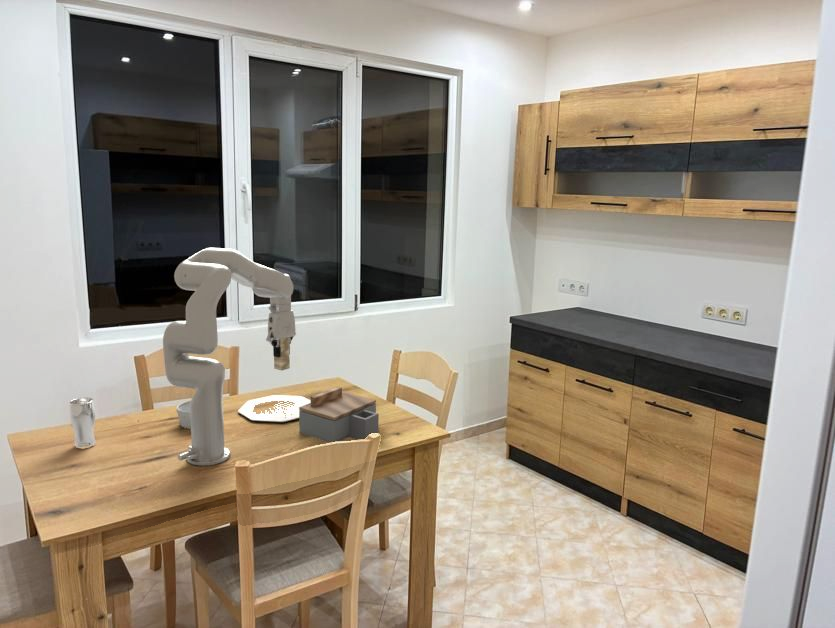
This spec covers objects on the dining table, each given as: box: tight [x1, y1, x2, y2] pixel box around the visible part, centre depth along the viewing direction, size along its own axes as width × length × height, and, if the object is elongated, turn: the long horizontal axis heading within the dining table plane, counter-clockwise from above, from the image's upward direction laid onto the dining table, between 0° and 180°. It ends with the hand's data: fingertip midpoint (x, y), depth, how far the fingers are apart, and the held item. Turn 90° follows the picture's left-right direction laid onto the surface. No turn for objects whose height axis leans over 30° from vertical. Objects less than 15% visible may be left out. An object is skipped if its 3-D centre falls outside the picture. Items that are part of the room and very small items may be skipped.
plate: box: [237, 394, 311, 423], centre depth 229 cm, size 28×28×2 cm
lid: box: [299, 386, 377, 421], centre depth 211 cm, size 22×16×4 cm
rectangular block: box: [273, 337, 291, 371], centre depth 227 cm, size 4×4×14 cm
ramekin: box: [176, 399, 191, 430], centre depth 213 cm, size 13×13×7 cm
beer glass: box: [69, 396, 97, 447], centre depth 192 cm, size 7×7×15 cm
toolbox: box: [298, 402, 380, 443], centre depth 210 cm, size 22×23×8 cm
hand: (281, 354), depth 227 cm, fingers closed on rectangular block, 4 cm apart
